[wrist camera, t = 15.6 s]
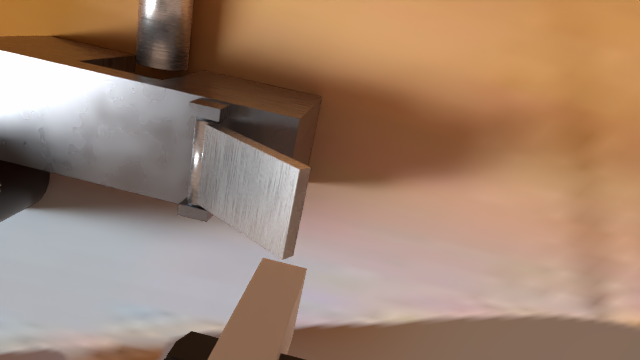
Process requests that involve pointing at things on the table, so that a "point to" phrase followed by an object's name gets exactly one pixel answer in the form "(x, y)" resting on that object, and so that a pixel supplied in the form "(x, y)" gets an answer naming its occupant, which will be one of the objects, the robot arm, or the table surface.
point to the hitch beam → (132, 117)
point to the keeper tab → (248, 186)
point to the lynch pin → (164, 33)
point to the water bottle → (20, 187)
